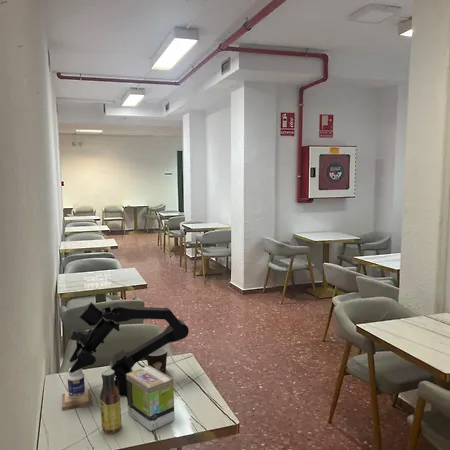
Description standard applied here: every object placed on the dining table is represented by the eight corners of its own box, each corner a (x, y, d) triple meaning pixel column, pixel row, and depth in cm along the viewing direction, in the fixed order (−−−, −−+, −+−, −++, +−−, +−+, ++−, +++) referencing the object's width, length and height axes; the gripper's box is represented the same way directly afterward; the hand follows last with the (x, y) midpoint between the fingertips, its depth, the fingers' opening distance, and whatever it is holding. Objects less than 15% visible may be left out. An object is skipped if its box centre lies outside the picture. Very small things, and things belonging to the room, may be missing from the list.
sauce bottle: (104, 424, 144) (100, 367, 142) (123, 423, 145) (119, 366, 142) (100, 436, 138) (96, 376, 135) (120, 434, 138) (116, 375, 136)
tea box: (176, 420, 146) (174, 378, 144) (150, 432, 139) (147, 388, 137) (152, 403, 157) (150, 363, 155) (127, 413, 150) (124, 373, 149)
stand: (90, 391, 166) (90, 385, 166) (91, 404, 157) (91, 398, 157) (62, 397, 163) (62, 391, 163) (62, 410, 154) (61, 404, 153)
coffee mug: (171, 370, 182) (170, 347, 181) (163, 380, 174) (162, 356, 173) (145, 368, 185) (144, 346, 184) (136, 378, 176) (135, 354, 175)
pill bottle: (74, 400, 156) (72, 374, 154) (65, 395, 159) (63, 369, 158) (88, 393, 160) (86, 368, 159) (79, 389, 164) (77, 363, 162)
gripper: (81, 312, 166) (52, 345, 164) (83, 328, 149) (51, 365, 147) (104, 329, 170) (76, 361, 168) (108, 346, 153) (77, 382, 150)
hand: (70, 366), depth 158 cm, fingers open, 9 cm apart
